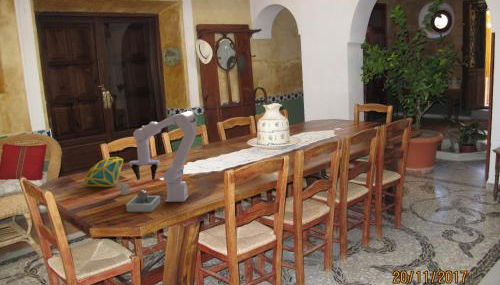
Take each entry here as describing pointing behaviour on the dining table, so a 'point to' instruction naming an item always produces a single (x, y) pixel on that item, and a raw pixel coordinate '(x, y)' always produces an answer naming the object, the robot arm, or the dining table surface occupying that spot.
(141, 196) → the battery cell
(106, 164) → the decorative object
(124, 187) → the lighter
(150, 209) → the dish
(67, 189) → the dining table surface
